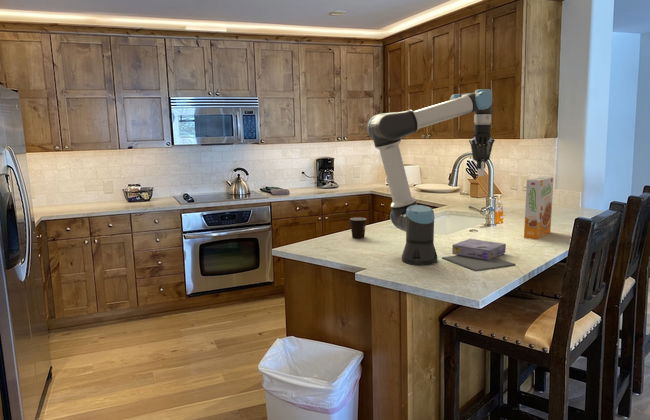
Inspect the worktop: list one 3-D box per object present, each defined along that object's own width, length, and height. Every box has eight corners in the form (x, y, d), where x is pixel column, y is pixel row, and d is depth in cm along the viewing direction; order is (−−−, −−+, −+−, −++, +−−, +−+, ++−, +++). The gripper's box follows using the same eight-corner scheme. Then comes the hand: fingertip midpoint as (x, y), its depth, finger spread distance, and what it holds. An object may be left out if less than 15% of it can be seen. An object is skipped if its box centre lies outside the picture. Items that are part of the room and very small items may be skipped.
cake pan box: (506, 253, 227) (469, 247, 238) (507, 242, 226) (469, 236, 237) (490, 261, 212) (451, 254, 223) (490, 250, 211) (451, 243, 222)
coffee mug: (358, 240, 259) (358, 221, 257) (346, 237, 265) (346, 218, 264) (373, 236, 266) (373, 218, 265) (362, 234, 273) (362, 216, 271)
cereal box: (536, 239, 254) (539, 180, 249) (523, 237, 258) (526, 179, 253) (550, 232, 271) (553, 176, 266) (538, 230, 275) (541, 176, 270)
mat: (475, 271, 199) (475, 269, 199) (442, 258, 219) (442, 257, 219) (515, 265, 207) (515, 263, 207) (479, 253, 227) (479, 252, 227)
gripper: (476, 124, 222) (474, 177, 226) (499, 123, 227) (497, 175, 231) (465, 124, 229) (464, 175, 233) (488, 124, 234) (486, 174, 238)
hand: (480, 175), depth 232 cm, fingers closed
